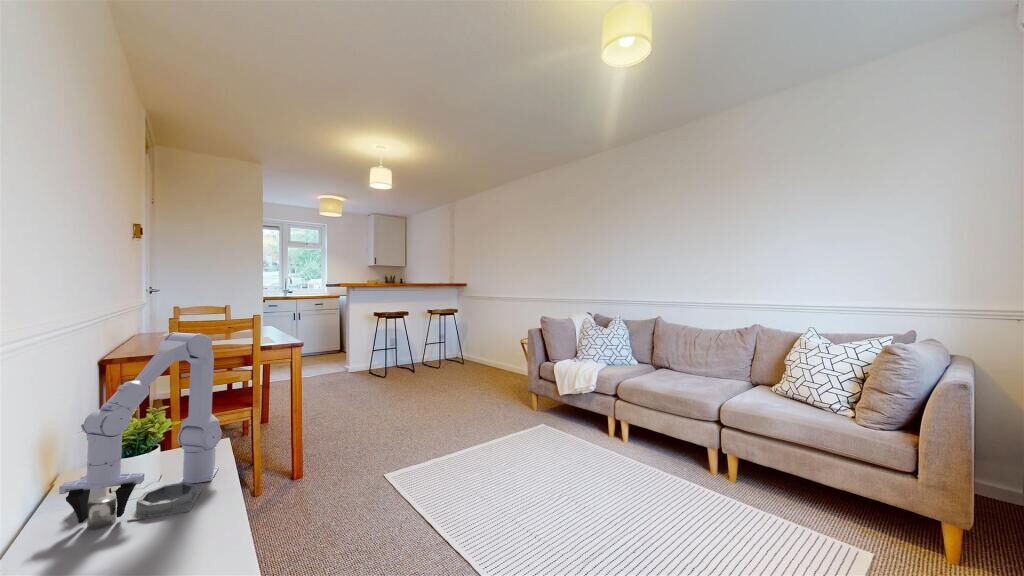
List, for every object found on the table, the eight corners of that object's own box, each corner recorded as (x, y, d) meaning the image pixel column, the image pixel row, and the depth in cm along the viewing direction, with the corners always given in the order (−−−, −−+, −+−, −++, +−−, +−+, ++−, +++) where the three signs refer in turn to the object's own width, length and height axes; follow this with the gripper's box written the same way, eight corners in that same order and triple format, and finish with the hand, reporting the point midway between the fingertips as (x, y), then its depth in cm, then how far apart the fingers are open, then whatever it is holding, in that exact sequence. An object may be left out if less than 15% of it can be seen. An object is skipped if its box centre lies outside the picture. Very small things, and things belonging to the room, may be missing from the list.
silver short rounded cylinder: (93, 520, 97) (93, 498, 97) (119, 516, 99) (120, 494, 99) (80, 534, 92) (81, 510, 92) (108, 529, 94) (109, 505, 94)
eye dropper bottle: (100, 498, 107) (102, 453, 107) (107, 505, 104) (109, 458, 104) (76, 505, 103) (79, 458, 103) (82, 513, 100) (84, 464, 100)
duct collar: (147, 497, 108) (147, 486, 108) (202, 490, 113) (202, 479, 113) (127, 521, 97) (127, 509, 97) (189, 511, 102) (189, 500, 102)
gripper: (52, 472, 90) (49, 533, 89) (136, 462, 96) (134, 520, 95) (70, 459, 96) (67, 517, 96) (148, 451, 102) (146, 505, 102)
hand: (101, 517), depth 96 cm, fingers open, 6 cm apart
